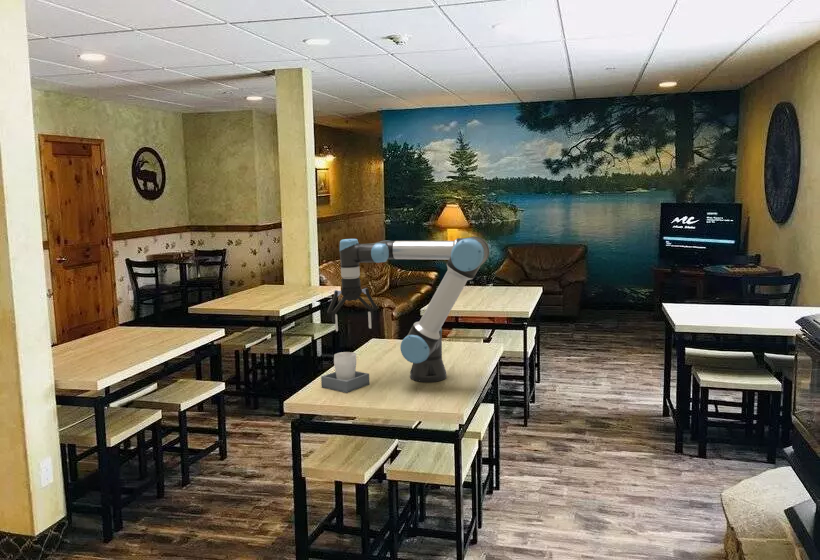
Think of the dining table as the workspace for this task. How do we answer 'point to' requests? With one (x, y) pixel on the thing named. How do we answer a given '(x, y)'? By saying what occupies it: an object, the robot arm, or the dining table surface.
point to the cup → (345, 365)
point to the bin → (345, 382)
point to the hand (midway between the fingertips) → (353, 329)
